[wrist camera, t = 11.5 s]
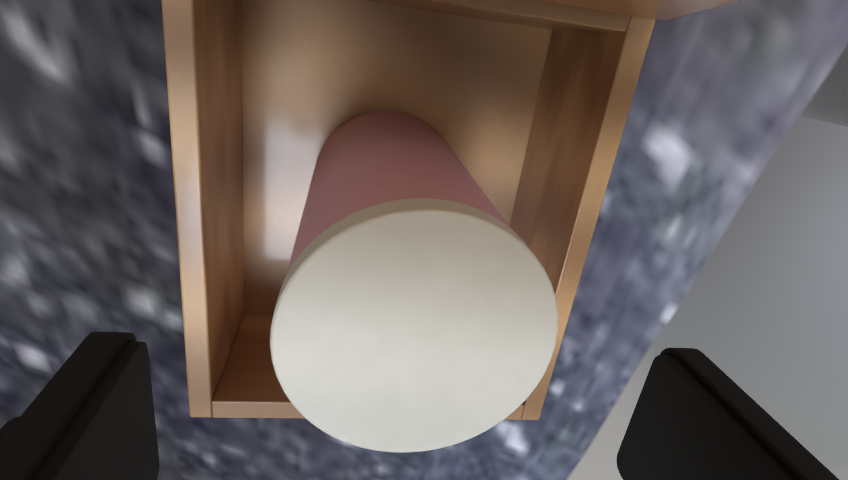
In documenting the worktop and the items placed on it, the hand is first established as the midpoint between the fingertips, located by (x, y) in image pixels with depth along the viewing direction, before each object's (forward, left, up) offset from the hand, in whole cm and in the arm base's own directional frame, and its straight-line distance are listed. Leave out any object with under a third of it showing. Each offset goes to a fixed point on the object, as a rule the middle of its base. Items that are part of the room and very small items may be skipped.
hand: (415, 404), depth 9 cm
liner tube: (0, 0, -14) cm, 14 cm away
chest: (0, 0, -15) cm, 15 cm away
